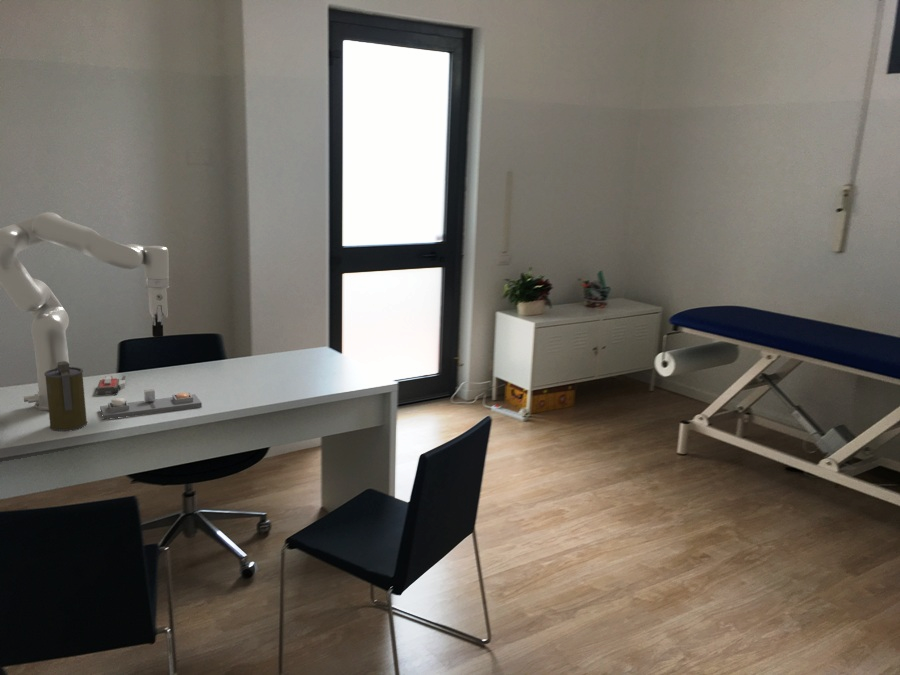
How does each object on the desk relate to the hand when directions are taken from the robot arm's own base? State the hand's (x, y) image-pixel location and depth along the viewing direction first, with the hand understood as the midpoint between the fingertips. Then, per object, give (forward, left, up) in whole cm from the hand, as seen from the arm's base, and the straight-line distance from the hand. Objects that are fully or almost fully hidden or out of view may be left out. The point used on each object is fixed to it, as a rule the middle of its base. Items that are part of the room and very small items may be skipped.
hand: (157, 336), depth 250 cm
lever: (-5, -8, -20) cm, 22 cm away
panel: (-5, -11, -22) cm, 25 cm away
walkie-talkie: (-13, +20, -23) cm, 33 cm away
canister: (-30, -17, -22) cm, 41 cm away
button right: (+5, -11, -20) cm, 23 cm away
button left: (-15, -11, -19) cm, 27 cm away
